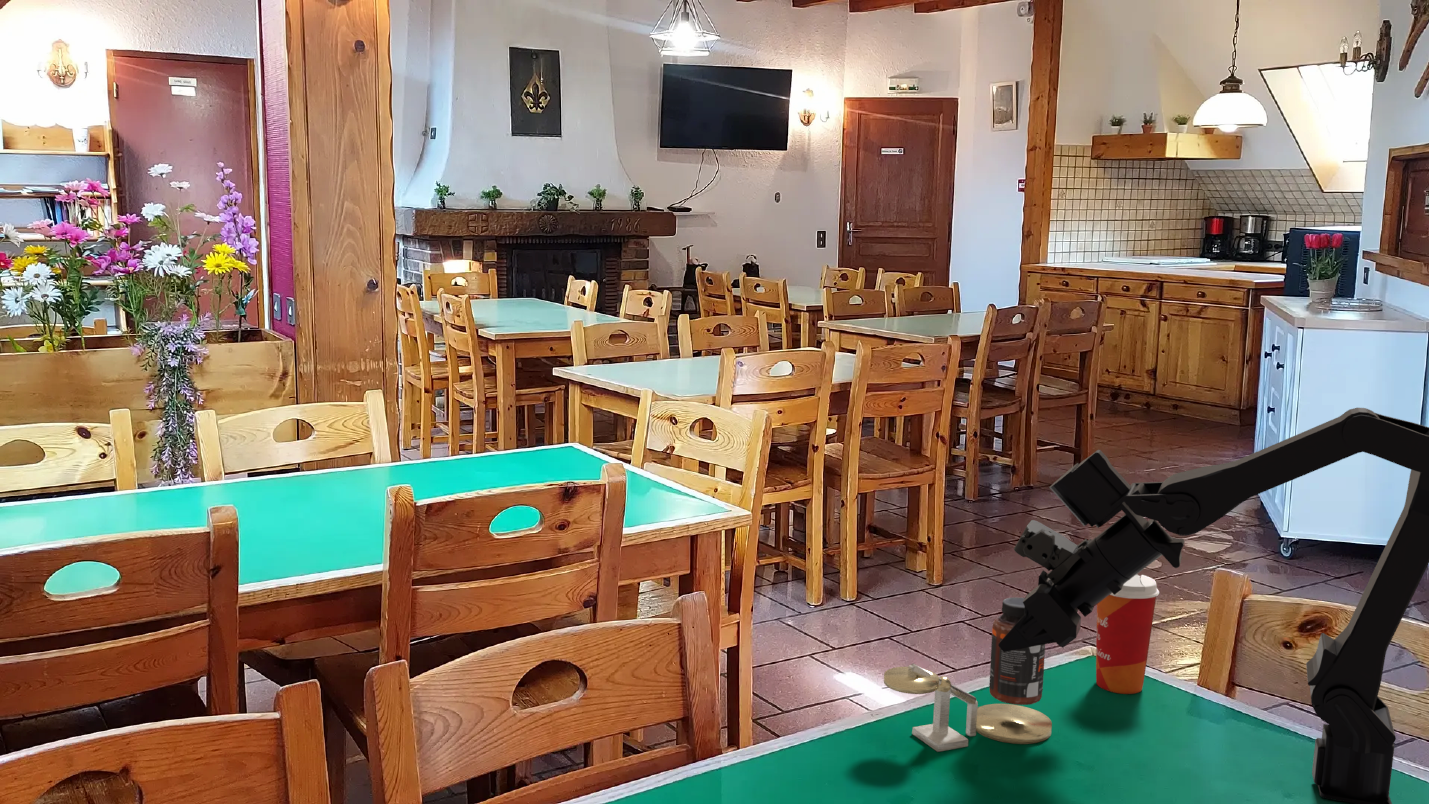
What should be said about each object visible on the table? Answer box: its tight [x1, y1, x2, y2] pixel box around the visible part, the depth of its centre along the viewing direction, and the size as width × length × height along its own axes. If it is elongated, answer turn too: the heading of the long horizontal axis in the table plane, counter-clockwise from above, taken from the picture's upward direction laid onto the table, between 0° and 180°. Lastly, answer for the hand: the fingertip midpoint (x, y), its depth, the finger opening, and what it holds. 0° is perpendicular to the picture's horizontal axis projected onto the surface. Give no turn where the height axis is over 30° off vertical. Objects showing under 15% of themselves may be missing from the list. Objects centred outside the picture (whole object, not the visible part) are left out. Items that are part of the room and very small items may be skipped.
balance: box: [883, 663, 1053, 753], centre depth 137 cm, size 22×9×9 cm, turn 114°
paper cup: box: [1095, 573, 1160, 695], centre depth 153 cm, size 8×8×14 cm
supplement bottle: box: [988, 597, 1046, 706], centre depth 139 cm, size 6×6×11 cm
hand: (1006, 639), depth 140 cm, fingers closed on supplement bottle, 6 cm apart
